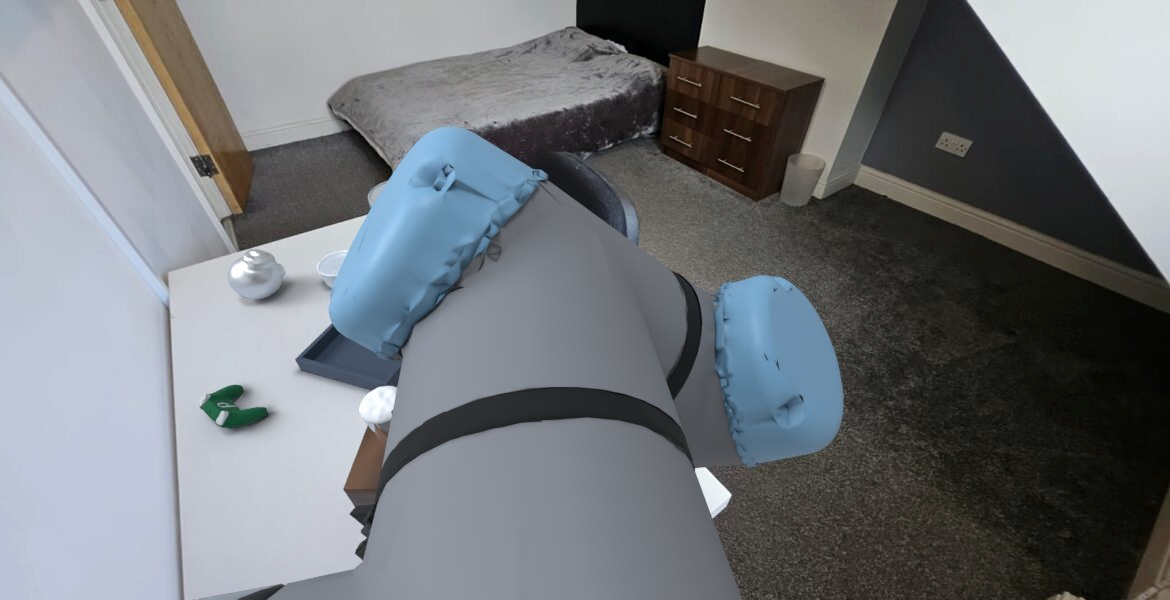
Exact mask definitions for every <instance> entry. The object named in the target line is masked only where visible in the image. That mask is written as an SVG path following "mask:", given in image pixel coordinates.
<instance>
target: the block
mask: <svg viewBox="0 0 1170 600" xmlns="http://www.w3.org/2000/svg"><path fill="white" fill-rule="evenodd" d="M384 454H385V449H384V448H383V446H382V445H381V443H380V442H379V440H378V439H377V437H376V435H375V434H374V432H373V431H372V430H371V429H370V427H369V426H368V425H367V426H366V429H365V431H364V433H363V436H362V439H361V442H360V443H359V447H358V450H357V451H356V455H355V457H354V459H353V462H352V465H351V467H350V470H349V472H348V476H347V478H346V481H345V483H344V485H343V488H342V489H343V491H344V492H345V494H346V495H347V497H348V499H349V500H350V503H352V505H353V506H354V508H355V507H356V506H359V505H370V504H375V496H376V491H377V486H378V481H379V476H380V472H381V469H382V465H383V460H384Z"/></svg>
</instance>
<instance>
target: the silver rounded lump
mask: <svg viewBox="0 0 1170 600" xmlns="http://www.w3.org/2000/svg"><path fill="white" fill-rule="evenodd" d="M286 273H287V272H286V269H285V267H284V266H283V265H282V264H280V263H278V262H277V260H276V257H275V256H274V254H272V253H271V252H268V251H265V250H262V249H257V248H256V249H255V248H254V249H253V248H252V249H248V250H247V251H245V252H244V254H243V256H241V257H239V258H237V259H236V260H235V261H234V262H233V263H232V264H231V265H230V266H229V269H228V272H227V282H228V284H229V286H230V287H231V289H232V290H233V291H234V292H235V293H236V294H238V296H241V297H243V298H245V299H250V300H262V299H266V298H268V297H270V296H272V295H274V294H275V293H276V292H277V291H278V290H279V289H280V287H281V285H282V282H283V278H284V277H285V276H286Z"/></svg>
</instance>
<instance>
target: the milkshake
mask: <svg viewBox="0 0 1170 600" xmlns="http://www.w3.org/2000/svg"><path fill="white" fill-rule="evenodd" d="M396 392H397V387H394V386H382V387H378V388H376V389H374V390H370V391H369V392H368V393H367V394H366V395H365V396H364V397H363V399H362V400H361V402H360V403H359V407H358V410H359V411H358V412H359V415H360V416H361V418H362V419H363V421H364V422H365V423H366V425H367V426H369V427H370V429H371V430H372V431H373V432H374V434H375V435H376V437H377V439H378V440H379V442H380V443H381V445H382V446H383V448H384V449H386V444H387V439H388V433H389V428H390V423H391V418H392V413H393V407H394V402H395V397H396Z"/></svg>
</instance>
